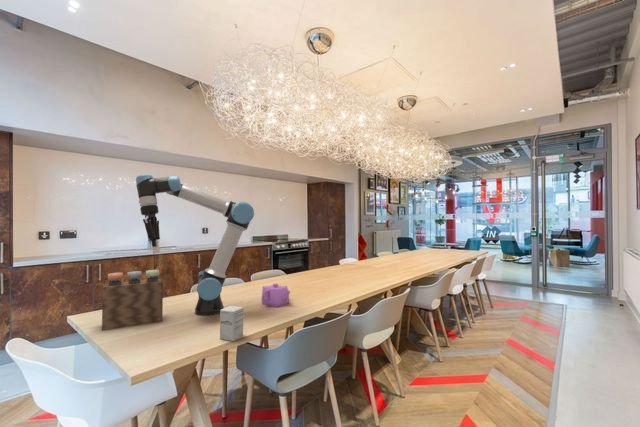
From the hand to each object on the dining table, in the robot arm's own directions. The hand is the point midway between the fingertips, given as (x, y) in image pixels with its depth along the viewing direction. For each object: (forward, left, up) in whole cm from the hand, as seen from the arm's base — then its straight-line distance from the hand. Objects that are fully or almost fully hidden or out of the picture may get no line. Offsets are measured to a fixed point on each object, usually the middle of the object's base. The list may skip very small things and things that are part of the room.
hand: (156, 253), depth 143 cm
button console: (-8, -14, -36) cm, 39 cm away
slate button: (-8, -14, -14) cm, 21 cm away
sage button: (-12, -7, -14) cm, 19 cm away
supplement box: (+17, +39, -36) cm, 56 cm away
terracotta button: (-5, -21, -14) cm, 26 cm away
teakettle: (-35, +56, -36) cm, 75 cm away
